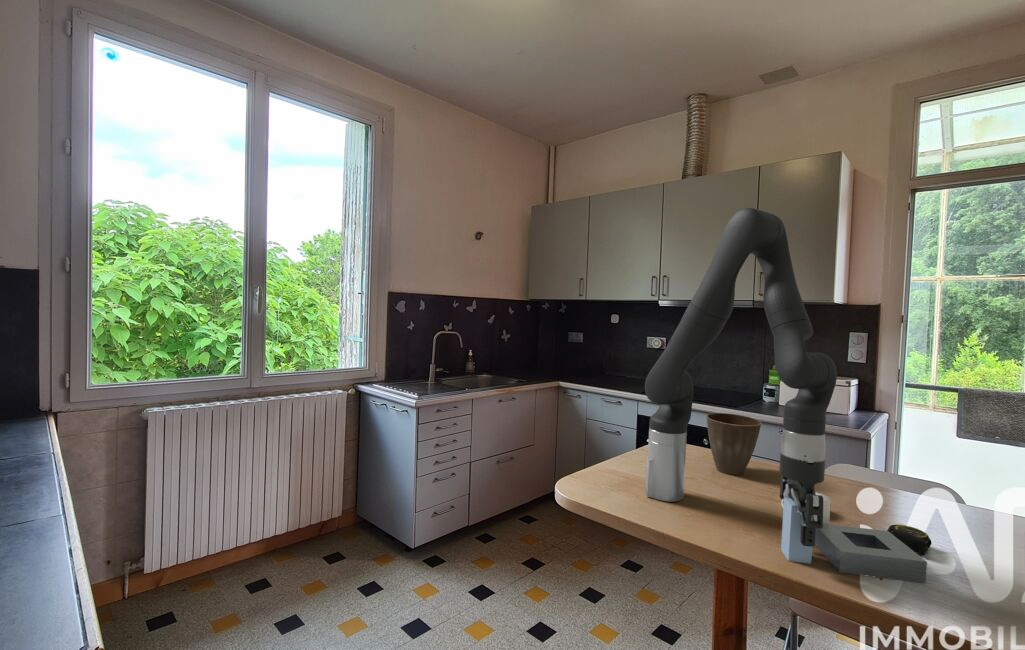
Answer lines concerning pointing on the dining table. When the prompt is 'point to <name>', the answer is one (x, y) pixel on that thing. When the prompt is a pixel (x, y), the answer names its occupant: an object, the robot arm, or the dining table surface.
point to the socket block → (870, 553)
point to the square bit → (793, 535)
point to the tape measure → (911, 537)
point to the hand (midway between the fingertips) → (798, 534)
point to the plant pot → (732, 441)
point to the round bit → (825, 508)
